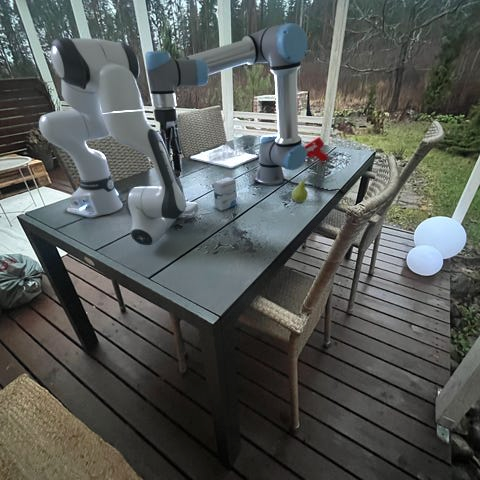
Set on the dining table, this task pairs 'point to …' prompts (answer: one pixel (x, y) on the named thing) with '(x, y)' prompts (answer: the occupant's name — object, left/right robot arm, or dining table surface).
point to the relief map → (225, 156)
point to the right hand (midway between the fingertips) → (174, 175)
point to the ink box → (225, 193)
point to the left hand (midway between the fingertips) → (178, 199)
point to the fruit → (300, 192)
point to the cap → (177, 173)
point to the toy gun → (316, 149)
